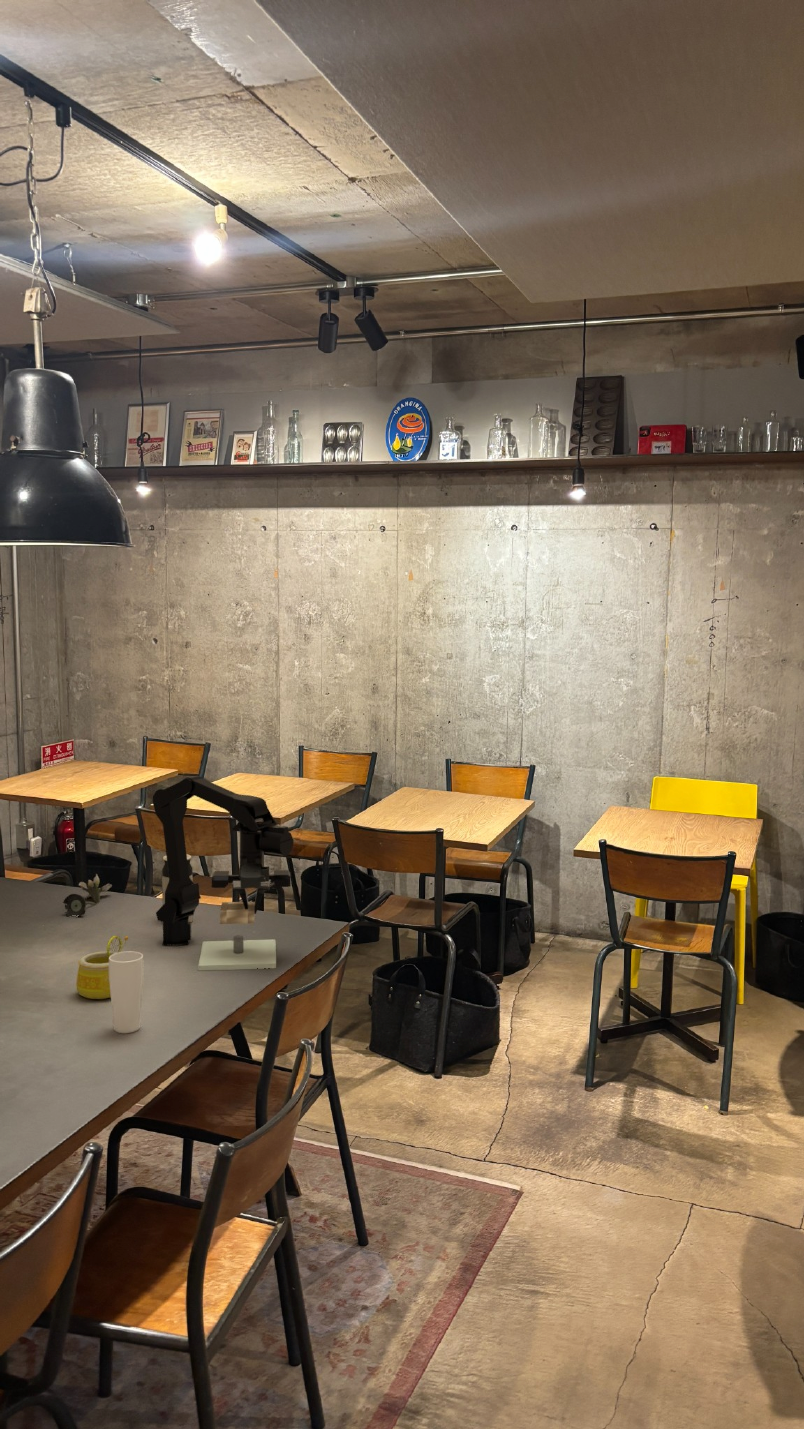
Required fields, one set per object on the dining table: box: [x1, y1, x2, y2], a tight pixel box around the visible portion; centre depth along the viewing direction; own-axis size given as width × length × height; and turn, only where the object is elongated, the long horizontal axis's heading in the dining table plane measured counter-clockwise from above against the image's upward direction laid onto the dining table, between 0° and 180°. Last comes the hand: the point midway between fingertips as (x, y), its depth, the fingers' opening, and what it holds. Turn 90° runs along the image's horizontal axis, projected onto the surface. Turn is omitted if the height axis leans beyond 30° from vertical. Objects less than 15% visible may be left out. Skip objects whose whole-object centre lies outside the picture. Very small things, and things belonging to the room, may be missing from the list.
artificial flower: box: [62, 873, 113, 917], centre depth 292 cm, size 9×22×10 cm, turn 173°
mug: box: [76, 935, 129, 1000], centre depth 226 cm, size 13×11×12 cm
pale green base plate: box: [197, 934, 277, 971], centre depth 251 cm, size 18×18×5 cm
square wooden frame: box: [219, 901, 256, 925], centre depth 249 cm, size 8×8×3 cm
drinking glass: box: [109, 950, 145, 1034], centre depth 206 cm, size 7×7×15 cm
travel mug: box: [161, 853, 194, 923], centre depth 278 cm, size 8×8×18 cm
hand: (251, 913), depth 250 cm, fingers closed on square wooden frame
